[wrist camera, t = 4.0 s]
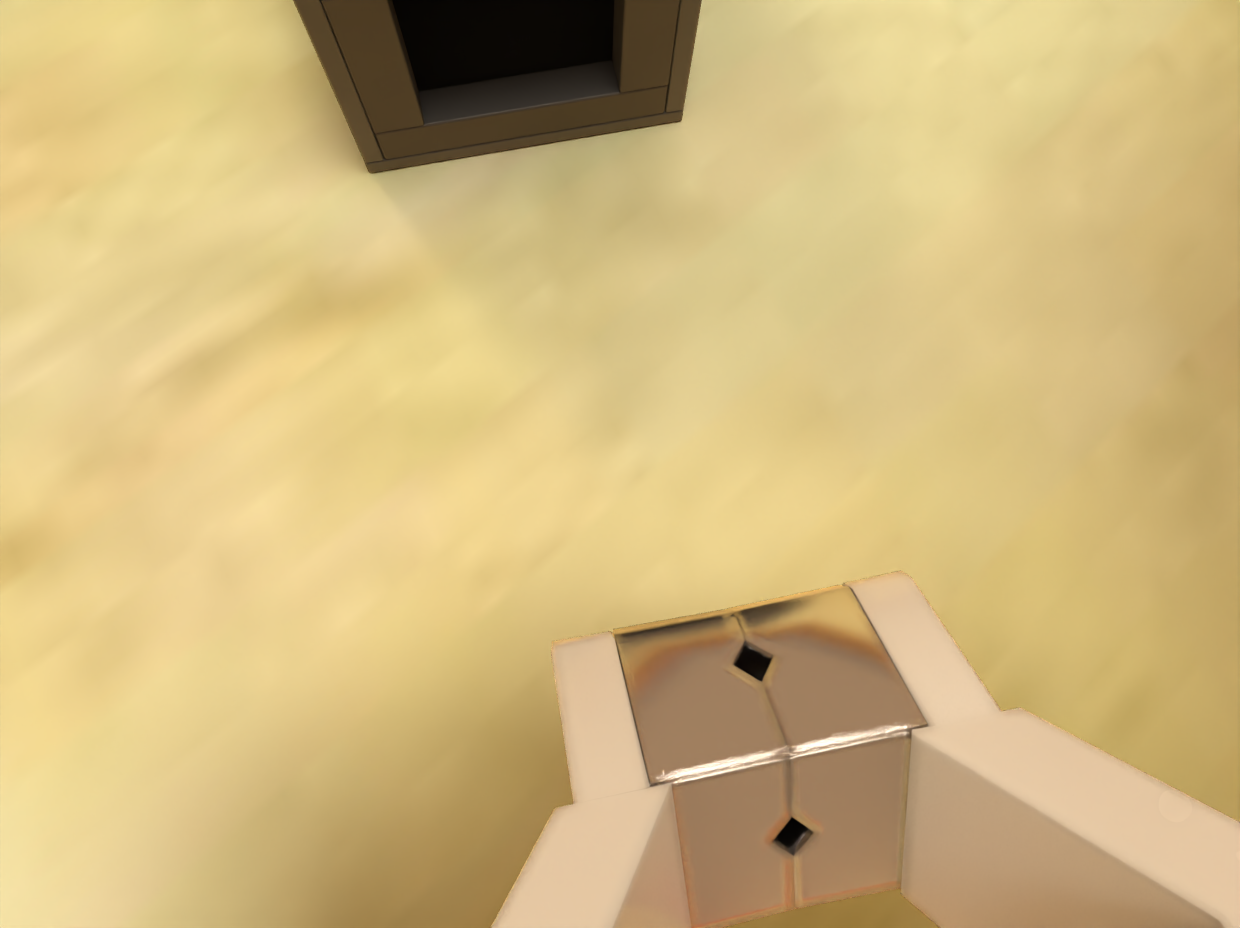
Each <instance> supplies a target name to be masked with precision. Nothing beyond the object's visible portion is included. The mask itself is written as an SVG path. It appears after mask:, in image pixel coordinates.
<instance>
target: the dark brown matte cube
mask: <svg viewBox="0 0 1240 928" xmlns="http://www.w3.org/2000/svg"><path fill="white" fill-rule="evenodd" d="M293 1H294V3H295V5H296V8H297V10H298V12H299V14H300V17H301V19H302V21H303V24H304V26H305V28H306V30H307V33H308V35H309V37H310V39H311V42H312V44H313V46H314V48H315V51H316V53H317V55H318V57H319V60H320V62H321V64H322V67H323V69H324V71H325V73H326V76H327V78H328V80H329V82H330V85H331V87H332V89H333V91H334V94H335V96H336V98H337V100H338V103H339V105H340V107H341V110H342V112H343V114H344V116H345V119H346V121H347V123H348V125H349V128H350V130H351V132H352V134H353V137H354V139H355V141H356V143H357V146H358V148H359V150H360V152H361V155H362V157H363V159H364V161H365V164H366V166H367V168H368V171H369V172H370V173H372V172H378V171H384V170H390V169H396V168H402V167H408V166H414V165H420V164H425V163H431V162H437V161H443V160H449V159H455V158H461V157H467V156H473V155H479V154H485V153H491V152H497V151H503V150H509V149H514V148H520V147H526V146H532V145H538V144H544V143H550V142H556V141H562V140H568V139H574V138H580V137H586V136H592V135H598V134H603V133H609V132H615V131H621V130H627V129H633V128H639V127H645V126H651V125H657V124H663V123H669V122H675V121H680V120H682V115H683V108H684V102H685V97H686V91H687V85H688V79H689V73H690V67H691V61H692V55H693V49H694V43H695V37H696V31H697V25H698V19H699V13H700V7H701V1H702V0H293Z"/></svg>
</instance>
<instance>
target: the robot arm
mask: <svg viewBox="0 0 1240 928" xmlns="http://www.w3.org/2000/svg"><path fill="white" fill-rule="evenodd" d="M613 636H614V637H613ZM551 656H552V663H553V670H554V676H555V683H556V690H557V696H558V703H559V710H560V716H561V723H562V730H563V736H564V743H565V750H566V756H567V763H568V770H569V776H570V783H571V790H572V796H573V804H569V805H565V806H561V807H556V808H554V810H553V812H552V814H551V815H550V817H549V819H548V821H547V823H546V825H545V827H544V829H543V830H542V832H541V834H540V836H539V838H538V840H537V842H536V844H535V845H534V847H533V849H532V851H531V853H530V855H529V857H528V859H527V860H526V862H525V864H524V866H523V868H522V870H521V872H520V873H519V875H518V877H517V879H516V881H515V883H514V885H513V887H512V888H511V890H510V892H509V894H508V896H507V898H506V900H505V902H504V903H503V905H502V907H501V909H500V911H499V913H498V915H497V917H496V918H495V920H494V922H493V924H492V926H491V928H724V927H727V926H731V925H735V924H739V923H743V922H747V921H751V920H754V919H758V918H762V917H766V916H770V915H774V914H778V913H782V912H785V911H789V910H793V909H798V908H803V907H808V906H813V905H818V904H823V903H828V902H833V901H838V900H843V899H848V898H853V897H858V896H864V895H869V894H874V893H879V892H884V891H889V890H894V889H899V888H901V895H903V896H904V897H905V898H906V899H907V900H908V901H910V902H911V903H912V904H913V905H914V906H915V907H917V908H918V909H919V910H920V911H921V912H922V913H924V914H925V915H926V916H927V917H928V918H929V919H931V920H932V921H933V922H934V923H935V924H936V925H937V926H939V927H940V928H1240V822H1238V821H1237V820H1235V819H1233V818H1231V817H1229V816H1227V815H1225V814H1223V813H1221V812H1219V811H1217V810H1216V809H1214V808H1212V807H1210V806H1208V805H1206V804H1204V803H1202V802H1200V801H1198V800H1196V799H1194V798H1193V797H1191V796H1189V795H1187V794H1185V793H1183V792H1181V791H1179V790H1177V789H1175V788H1173V787H1172V786H1170V785H1168V784H1166V783H1164V782H1162V781H1160V780H1158V779H1156V778H1154V777H1152V776H1151V775H1149V774H1147V773H1145V772H1143V771H1141V770H1139V769H1137V768H1135V767H1133V766H1131V765H1130V764H1128V763H1126V762H1124V761H1122V760H1120V759H1118V758H1116V757H1114V756H1112V755H1110V754H1108V753H1107V752H1105V751H1103V750H1101V749H1099V748H1097V747H1095V746H1093V745H1091V744H1089V743H1087V742H1086V741H1084V740H1082V739H1080V738H1078V737H1076V736H1074V735H1072V734H1070V733H1068V732H1066V731H1065V730H1063V729H1061V728H1059V727H1057V726H1055V725H1053V724H1051V723H1049V722H1047V721H1045V720H1044V719H1042V718H1040V717H1038V716H1036V715H1034V714H1032V713H1030V712H1028V711H1026V710H1024V709H1022V708H1015V709H1010V710H1004V711H1001V709H1000V708H999V706H998V705H997V703H996V702H995V700H994V699H993V697H992V696H991V694H990V693H989V691H988V690H987V688H986V687H985V685H984V684H983V682H982V681H981V679H980V678H979V676H978V675H977V674H976V672H975V671H974V669H973V668H972V666H971V665H970V663H969V662H968V660H967V659H966V657H965V656H964V654H963V653H962V651H961V650H960V648H959V647H958V645H957V644H956V642H955V641H954V639H953V638H952V636H951V635H950V634H949V632H948V631H947V629H946V628H945V626H944V625H943V623H942V622H941V620H940V619H939V617H938V616H937V614H936V613H935V611H934V610H933V608H932V607H931V605H930V604H929V602H928V601H927V599H926V598H925V596H924V595H923V593H922V592H921V591H920V589H919V588H918V586H917V585H916V583H915V582H914V580H913V579H912V577H911V576H909V575H907V574H906V573H904V572H902V571H896V572H891V573H887V574H882V575H878V576H873V577H869V578H864V579H860V580H855V581H851V582H846V583H843V585H842V586H841V585H835V586H831V587H826V588H821V589H816V590H812V591H807V592H802V593H797V594H793V595H788V596H783V597H779V598H774V599H769V600H764V601H760V602H755V603H750V604H746V605H741V606H736V607H731V608H727V609H723V610H717V611H712V612H706V613H701V614H695V615H689V616H684V617H678V618H673V619H667V620H662V621H656V622H650V623H645V624H639V625H634V626H628V627H622V628H617V629H613V634H612V632H611V631H608V632H602V633H597V634H591V635H585V636H579V637H574V638H568V639H562V640H557V641H552V652H551Z"/></svg>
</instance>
